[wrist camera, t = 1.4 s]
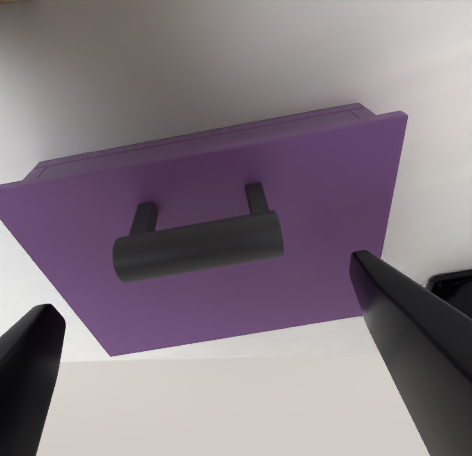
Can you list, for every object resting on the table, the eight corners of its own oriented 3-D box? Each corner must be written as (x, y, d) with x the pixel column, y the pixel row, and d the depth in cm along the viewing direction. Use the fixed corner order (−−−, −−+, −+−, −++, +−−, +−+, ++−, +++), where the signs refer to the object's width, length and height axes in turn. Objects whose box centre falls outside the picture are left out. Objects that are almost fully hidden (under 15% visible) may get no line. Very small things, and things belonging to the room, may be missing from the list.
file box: (38, 161, 16) (0, 202, 13) (359, 101, 15) (397, 129, 12) (124, 301, 23) (112, 347, 20) (344, 263, 22) (366, 306, 19)
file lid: (-13, 186, 12) (-98, 263, 9) (401, 109, 12) (482, 160, 8) (112, 348, 20) (92, 423, 17) (366, 306, 19) (401, 375, 16)
